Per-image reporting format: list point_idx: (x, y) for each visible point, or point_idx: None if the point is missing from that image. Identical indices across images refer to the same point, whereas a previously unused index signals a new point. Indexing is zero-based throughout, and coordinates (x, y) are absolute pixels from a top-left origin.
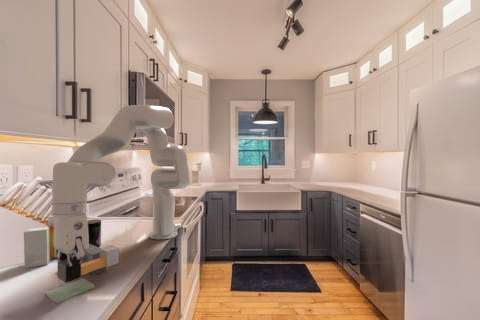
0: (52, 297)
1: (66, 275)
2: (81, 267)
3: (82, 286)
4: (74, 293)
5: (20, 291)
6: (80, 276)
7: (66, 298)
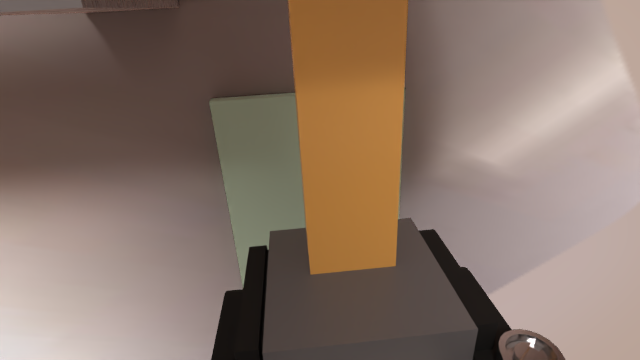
0: None
1: None
2: (393, 240)
3: None
4: None
5: (102, 352)
6: (434, 232)
7: None
